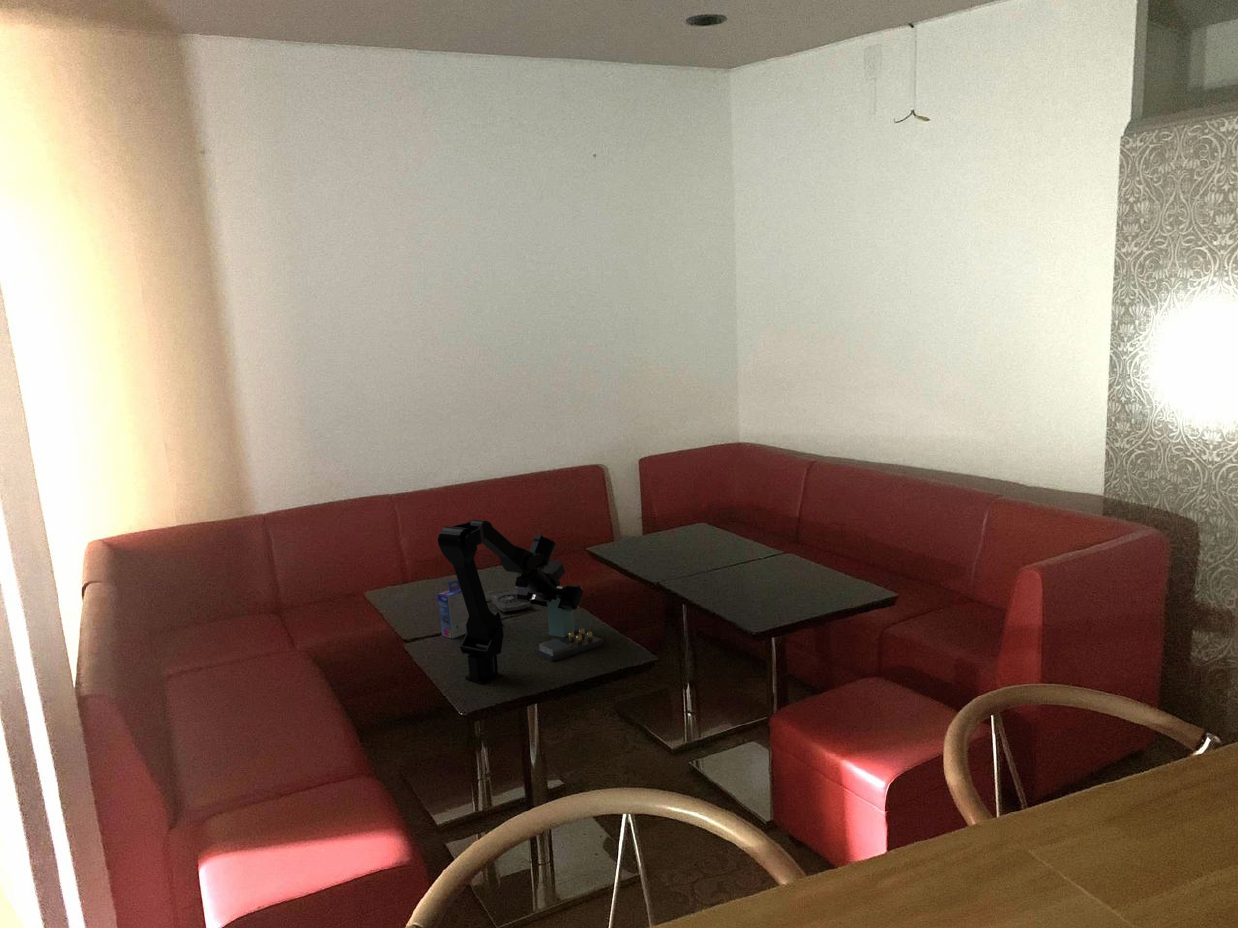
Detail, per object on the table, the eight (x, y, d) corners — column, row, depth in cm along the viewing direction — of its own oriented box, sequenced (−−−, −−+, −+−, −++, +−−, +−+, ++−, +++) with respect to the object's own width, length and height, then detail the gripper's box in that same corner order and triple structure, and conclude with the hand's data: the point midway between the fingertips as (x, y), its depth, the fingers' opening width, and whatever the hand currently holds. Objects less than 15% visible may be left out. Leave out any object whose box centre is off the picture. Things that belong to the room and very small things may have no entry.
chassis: (552, 661, 238) (551, 648, 237) (534, 653, 244) (533, 640, 244) (602, 644, 248) (601, 632, 247) (584, 637, 254) (583, 625, 253)
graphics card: (479, 592, 290) (517, 585, 294) (480, 604, 290) (518, 596, 295) (493, 608, 274) (532, 600, 279) (494, 620, 275) (534, 612, 279)
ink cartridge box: (468, 625, 269) (464, 576, 267) (480, 629, 265) (476, 579, 263) (439, 635, 262) (435, 584, 260) (452, 639, 258) (447, 588, 256)
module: (564, 637, 255) (561, 593, 253) (549, 634, 258) (546, 590, 256) (574, 631, 259) (571, 587, 257) (559, 628, 262) (556, 585, 260)
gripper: (577, 557, 246) (602, 586, 257) (519, 550, 256) (546, 578, 267) (561, 594, 241) (588, 623, 252) (503, 586, 251) (531, 614, 262)
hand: (563, 608), depth 258 cm, fingers closed on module, 5 cm apart
